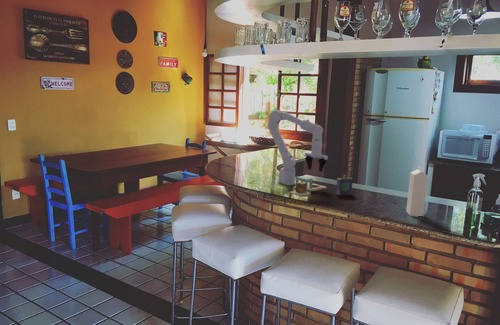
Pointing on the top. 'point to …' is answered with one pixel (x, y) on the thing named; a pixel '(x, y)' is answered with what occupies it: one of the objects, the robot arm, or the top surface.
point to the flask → (344, 186)
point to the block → (301, 187)
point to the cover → (304, 180)
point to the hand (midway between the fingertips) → (315, 170)
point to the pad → (299, 193)
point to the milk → (417, 193)
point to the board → (318, 187)
